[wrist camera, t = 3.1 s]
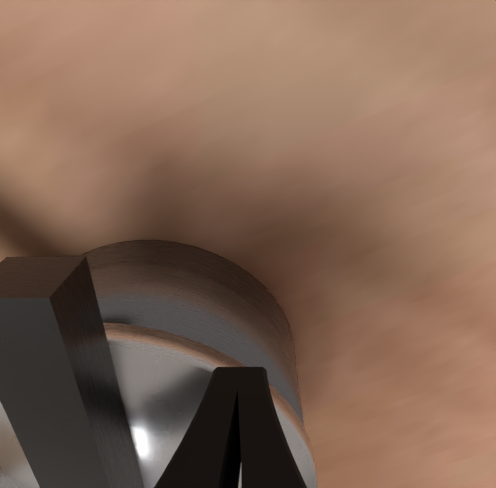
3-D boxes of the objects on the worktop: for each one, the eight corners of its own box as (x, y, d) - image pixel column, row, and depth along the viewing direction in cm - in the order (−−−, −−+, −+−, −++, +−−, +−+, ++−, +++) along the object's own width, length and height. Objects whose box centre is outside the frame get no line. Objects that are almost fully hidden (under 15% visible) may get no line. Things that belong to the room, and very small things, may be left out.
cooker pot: (346, 367, 20) (379, 479, 15) (170, 470, 24) (146, 586, 19) (56, 82, 14) (-69, 94, 9) (-109, 286, 18) (-261, 378, 13)
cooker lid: (306, 566, 17) (314, 651, 15) (6, 563, 18) (-35, 645, 15) (332, 234, 10) (357, 294, 7) (-190, 243, 10) (-333, 301, 8)
